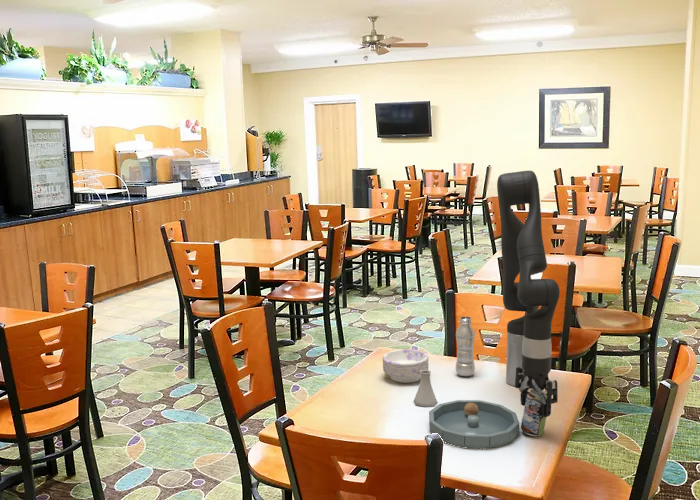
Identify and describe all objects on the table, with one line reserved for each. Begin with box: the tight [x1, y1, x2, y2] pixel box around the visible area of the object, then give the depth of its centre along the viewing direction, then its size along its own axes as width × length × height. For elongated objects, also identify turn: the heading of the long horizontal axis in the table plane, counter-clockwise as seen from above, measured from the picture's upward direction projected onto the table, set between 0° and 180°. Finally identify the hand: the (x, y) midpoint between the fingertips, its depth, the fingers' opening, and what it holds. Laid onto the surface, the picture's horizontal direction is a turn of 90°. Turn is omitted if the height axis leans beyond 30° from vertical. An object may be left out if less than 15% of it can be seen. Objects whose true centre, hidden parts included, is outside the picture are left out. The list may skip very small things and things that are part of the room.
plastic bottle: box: [455, 316, 476, 377], centre depth 226 cm, size 6×7×20 cm
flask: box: [413, 369, 438, 408], centre depth 204 cm, size 7×7×10 cm
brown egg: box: [464, 402, 478, 416], centre depth 192 cm, size 4×4×4 cm
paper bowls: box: [382, 348, 429, 384], centre depth 226 cm, size 15×15×8 cm
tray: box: [428, 399, 520, 450], centre depth 186 cm, size 24×24×4 cm
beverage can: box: [520, 389, 547, 437], centre depth 182 cm, size 6×7×12 cm
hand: (535, 410), depth 182 cm, fingers open, 8 cm apart
